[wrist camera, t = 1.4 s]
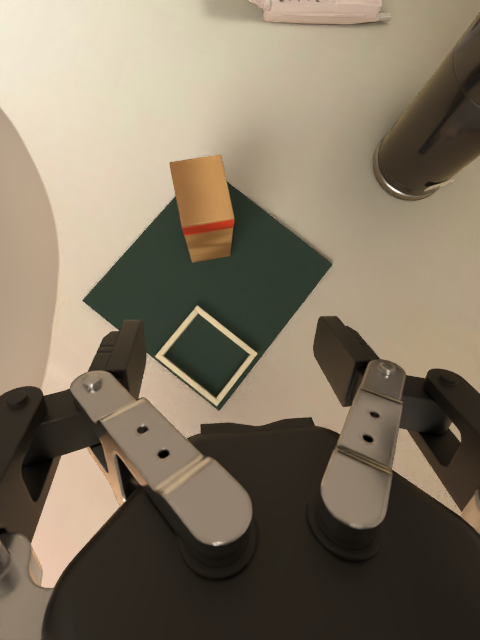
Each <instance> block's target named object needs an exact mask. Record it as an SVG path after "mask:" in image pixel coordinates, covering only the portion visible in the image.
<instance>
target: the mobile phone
mask: <svg viewBox="0 0 480 640" xmlns="http://www.w3.org/2000/svg"><path fill="white" fill-rule="evenodd" d="M248 1H250V2H251V3H253V4H255V5H256V6H258V7H259V8H261V9H263V18H264V21H266V22H286V23H308V24H357V23H364V22H376V21H390V20H391V18H392V13H387V12H380V10H381V7H382V0H248Z"/></svg>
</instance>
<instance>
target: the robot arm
mask: <svg viewBox="0 0 480 640" xmlns="http://www.w3.org/2000/svg"><path fill="white" fill-rule="evenodd" d="M478 156H480V12H479V13H478V15H477V16H476V17H475V19H474V20H473V21H472V23H471V24H470V25H469V27H468V28H467V29H466V31H465V32H464V33H463V35H462V36H461V38H460V39H459V40H458V42H457V43H456V44H455V46H454V47H453V48H452V50H451V51H450V52H449V54H448V55H447V56H446V58H445V59H444V60H443V61H442V63H441V64H440V65H439V67H438V68H437V69H436V71H435V72H434V73H433V75H432V76H431V77H430V79H429V80H428V81H427V83H426V84H425V85H424V87H423V88H422V89H421V91H420V92H419V93H418V95H417V96H416V97H415V99H414V100H413V101H412V103H411V104H410V105H409V107H408V108H407V109H406V111H405V112H404V113H403V115H402V116H401V117H400V119H399V120H398V121H397V122H396V124H395V125H394V126H393V128H392V129H391V131H390V132H389V133H388V134H387V135H386V136H385V137H384V138H383V140H382V141H381V142H380V144H379V145H378V147H377V148H376V150H375V153H374V157H373V169H374V173H375V176H376V178H377V180H378V182H379V183H380V185H381V186H382V187H383V188H384V189H385V190H386V191H387V192H389V193H390V194H391V195H393V196H395V197H397V198H400V199H404V200H419V199H423V198H425V197H427V196H429V195H431V194H432V193H433V192H435V191H436V190H437V189H438V188H439V187H440V186H443V185H446V184H449V183H451V182H452V181H454V180H455V179H452V180H449V179H450V178H451V177H453V176H454V175H455V174H457V173H458V172H459V171H460V170H462V169H463V168H464V167H466V166H467V165H468V164H469V163H471V162H472V161H473V160H475V159H476V158H477V157H478ZM447 180H449V181H447ZM313 351H314V356H315V358H316V360H317V362H318V364H319V366H320V367H321V369H322V371H323V373H324V374H325V376H326V378H327V380H328V382H329V383H330V385H331V387H332V389H333V390H334V392H335V394H336V396H337V398H338V399H339V401H340V403H341V405H342V406H343V407H347V406H351V408H350V410H349V413H348V415H347V418H346V421H345V423H344V426H343V429H342V431H341V434H338V433H336V432H334V431H332V430H329V429H326V428H323V427H319V426H315V425H314V422H313V420H312V418H311V417H308V418H292V419H283V420H280V421H276V422H273V423H270V424H266V425H263V426H250V425H243V424H236V423H214V424H201V433H200V434H197V435H194V436H191V437H189V438H187V439H186V438H185V437H184V436H183V435H182V434H181V433H180V432H179V431H178V430H177V429H176V428H175V427H174V426H173V425H172V424H171V423H170V422H169V421H168V420H167V419H166V418H165V417H164V416H163V415H162V414H161V413H160V412H159V411H158V410H157V409H156V408H155V407H154V406H153V405H152V404H151V403H150V402H149V401H148V400H147V399H146V398H144V397H142V398H140V399H138V397H139V393H140V388H141V383H142V379H143V374H144V369H145V365H146V345H145V336H144V327H143V321H142V320H124V321H123V323H122V326H121V328H120V331H112V332H110V333H109V334H108V335H106V336H105V337H104V338H103V340H102V342H101V344H100V347H99V348H98V351H97V353H96V355H95V357H94V359H93V361H92V364H91V366H90V368H89V370H88V372H87V373H84V374H82V375H80V376H79V377H77V378H76V379H75V380H74V381H73V382H72V383H71V386H70V389H68V390H65V391H62V392H58V393H54V394H50V395H46V396H43V393H42V391H41V390H40V389H39V388H37V387H32V386H26V387H20V388H16V389H13V390H11V391H8V392H6V393H4V394H3V395H1V396H0V640H480V394H479V393H478V392H477V391H476V390H475V389H474V388H473V387H472V386H471V385H470V384H469V383H468V382H467V381H466V380H465V379H464V378H462V377H461V376H459V375H458V374H456V373H454V372H451V371H448V370H444V369H431V370H429V371H428V373H427V375H426V378H420V377H414V376H408V375H406V373H405V371H404V370H403V369H402V368H401V367H400V366H399V365H397V364H395V363H393V362H390V361H387V360H382V359H380V358H379V357H378V356H377V355H376V353H375V352H374V351H373V350H372V349H371V348H370V346H369V345H367V343H366V342H365V341H364V339H362V337H361V336H360V335H359V334H358V332H357V331H355V330H353V329H352V328H350V327H348V326H345V325H344V324H343V323H342V322H341V320H340V319H339V318H338V317H337V316H321V317H320V318H319V319H318V324H317V329H316V334H315V340H314V345H313ZM452 422H453V423H454V424H455V426H456V427H457V428H458V429H459V431H460V434H461V443H460V441H459V440H458V439H457V438H456V436H455V435H454V434H453V433H452V432H451V430H450V429H449V426H450V425H451V423H452ZM399 428H402V429H407V430H408V432H409V434H410V435H411V437H412V438H413V440H414V441H415V443H416V444H417V446H418V447H419V449H420V450H421V452H422V453H423V455H424V456H425V458H426V459H427V461H428V462H429V464H430V465H431V467H432V468H433V470H434V471H435V473H436V474H437V476H438V477H439V479H440V480H441V482H442V483H443V485H444V486H445V488H446V489H447V491H448V492H449V494H450V495H451V497H452V498H453V500H454V501H455V503H456V504H457V506H458V507H459V509H460V510H461V512H462V513H461V517H460V516H459V515H457V514H456V513H455V512H453V511H452V510H450V509H449V508H447V507H446V506H444V505H443V504H441V503H440V502H439V501H437V500H436V499H434V498H433V497H431V496H430V495H428V494H427V493H425V492H424V491H422V490H421V489H420V488H418V487H417V486H415V485H414V484H412V483H411V482H409V481H408V480H406V479H405V478H404V477H402V476H401V475H399V474H398V473H396V472H395V471H393V470H392V465H393V459H394V454H395V448H396V442H397V437H398V431H399ZM83 448H87V450H88V451H89V453H90V454H91V456H92V457H93V459H94V460H95V462H96V463H97V465H98V466H99V468H100V469H101V471H102V472H103V474H104V475H105V477H106V478H107V480H108V481H109V483H110V485H111V487H112V490H113V492H114V495H115V497H116V499H117V501H118V503H119V505H120V507H119V508H118V510H117V511H116V512H115V513H114V514H113V515H112V516H111V517H110V518H109V520H108V521H107V522H106V523H105V524H104V525H103V526H102V527H101V528H100V530H99V531H98V532H97V533H96V534H95V535H94V536H93V537H92V538H91V540H90V541H89V542H88V543H87V544H86V545H85V546H84V547H83V548H82V550H81V551H80V552H79V553H78V554H77V555H76V556H75V557H74V559H73V560H72V561H71V562H70V563H69V565H68V566H67V567H66V569H65V570H64V571H63V573H62V575H61V576H60V578H59V580H58V581H57V583H56V585H55V587H54V588H44V587H41V581H42V575H43V574H42V566H41V564H40V562H39V560H38V558H37V556H36V554H35V552H34V550H33V548H32V546H31V542H32V539H33V536H34V533H35V530H36V527H37V524H38V521H39V519H40V516H41V513H42V510H43V507H44V504H45V501H46V498H47V495H48V493H49V490H50V487H51V484H52V481H53V478H54V475H55V472H56V470H57V467H58V464H59V461H60V458H61V455H64V454H68V453H71V452H74V451H77V450H80V449H83Z"/></svg>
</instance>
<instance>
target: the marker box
mask: <svg viewBox="0 0 480 640" xmlns="http://www.w3.org/2000/svg"><path fill="white" fill-rule="evenodd" d="M170 169H171V174H172V179H173V184H174V190H175V195H176V200H177V205H178V210H179V215H180V220H181V226H182V230H183V233H184V236H185V239H186V243H187V246H188V250H189V253H190V257H191V260H192V263H194V262H199V261H205V260H210V259H216V258H221V257H227V256H230V253H231V243H232V234H233V227H234V220H235V219H234V214H233V209H232V204H231V199H230V195H229V190H228V185H227V181H226V176H225V171H224V167H223V162H222V157H221V155H215V156H208V157H202V158H195V159H188V160H182V161H175V162H170Z"/></svg>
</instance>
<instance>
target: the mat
mask: <svg viewBox="0 0 480 640" xmlns="http://www.w3.org/2000/svg"><path fill="white" fill-rule="evenodd" d="M227 185H228V190H229V195H230V199H231V204H232V209H233V214H234V219H235V220H234V227H233V234H232V243H231V253H230V256H227V257H221V258H216V259H210V260H205V261H199V262H194V263H192V260H191V257H190V253H189V250H188V246H187V243H186V239H185V236H184V233H183V230H182V226H181V220H180V215H179V210H178V205H177V200H176V196H175V197H174V199H173V200H172V201H171V202H170V203H169V204H168V205H167V206H166V208H165V209H164V210H163V211H162V212H161V213H160V214H159V215H158V217H157V218H156V219H155V220H154V221H153V222H152V223H151V224H150V225H149V227H148V228H147V229H146V230H145V231H144V232H143V233H142V234H141V236H140V237H139V238H138V239H137V240H136V241H135V242H134V243H133V244H132V246H131V247H130V248H129V249H128V250H127V251H126V252H125V253H124V255H123V256H122V257H121V258H120V259H119V260H118V261H117V262H116V263H115V265H114V266H113V267H112V268H111V269H110V270H109V271H108V272H107V274H106V275H105V276H104V277H103V278H102V279H101V280H100V281H99V283H98V284H97V285H96V286H95V287H94V288H93V289H92V290H91V291H90V293H89V294H88V295H87V296H86V297H85V298H84V299H83V302H85V303H86V304H87V305H88V306H90V307H91V308H92V309H93V310H95V311H96V312H97V313H98V314H100V315H101V316H102V317H103V318H105V319H106V320H107V321H108V322H110V323H111V324H112V325H113V326H114V327H116V328H117V329H118V330H119V331H120V328H121V326H122V323H123V321H124V320H142V321H143V327H144V336H145V345H146V352H147V353H148V354H149V355H151V356H152V357H153V358H154V359H156V360H157V361H158V362H159V363H160V364H162V365H163V366H164V367H165V368H167V369H168V370H169V371H170V372H172V373H173V374H174V375H175V376H177V377H178V378H179V379H180V380H182V381H183V382H184V383H185V384H187V385H188V386H189V387H190V388H192V389H193V390H194V391H195V392H197V393H198V394H199V395H200V396H202V397H203V398H204V399H205V400H207V401H208V402H209V403H210V404H211V405H213V406H214V407H215V408H216V409H218V410H220V409H221V408H222V407H223V405H224V404H225V403H226V401H227V400H228V399H229V398H230V396H231V395H232V394H233V392H234V391H235V390H236V389H237V387H238V386H239V385H240V383H241V382H242V381H243V379H244V378H245V377H246V376H247V374H248V373H249V372H250V370H251V369H252V368H253V367H254V365H255V364H256V363H257V361H258V360H259V359H260V357H261V356H262V355H263V354H264V352H265V351H266V350H267V348H268V347H269V346H270V345H271V343H272V342H273V341H274V339H275V338H276V337H277V335H278V334H279V333H280V332H281V330H282V329H283V328H284V326H285V325H286V324H287V323H288V321H289V320H290V319H291V317H292V316H293V315H294V313H295V312H296V311H297V310H298V308H299V307H300V306H301V304H302V303H303V302H304V301H305V299H306V298H307V297H308V295H309V294H310V293H311V291H312V290H313V289H314V288H315V286H316V285H317V284H318V282H319V281H320V280H321V278H322V277H323V276H324V275H325V273H326V272H327V271H328V269H329V268H330V267H331V266H332V263H331V262H329V261H328V260H327V259H325V258H324V257H323V256H322V255H320V254H319V253H318V252H317V251H315V250H314V249H313V248H311V247H310V246H309V245H308V244H306V243H305V242H304V241H302V240H301V239H300V238H299V237H297V236H296V235H295V234H294V233H292V232H291V231H290V230H288V229H287V228H286V227H285V226H283V225H282V224H281V223H279V222H278V221H277V220H276V219H274V218H273V217H272V216H270V215H269V214H268V213H267V212H265V211H264V210H263V209H262V208H260V207H259V206H258V205H256V204H255V203H254V202H253V201H251V200H250V199H249V198H247V197H246V196H245V195H244V194H242V193H241V192H240V191H238V190H237V189H236V188H235V187H233V186H232V185H231V184H230V183H228V182H227Z"/></svg>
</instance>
